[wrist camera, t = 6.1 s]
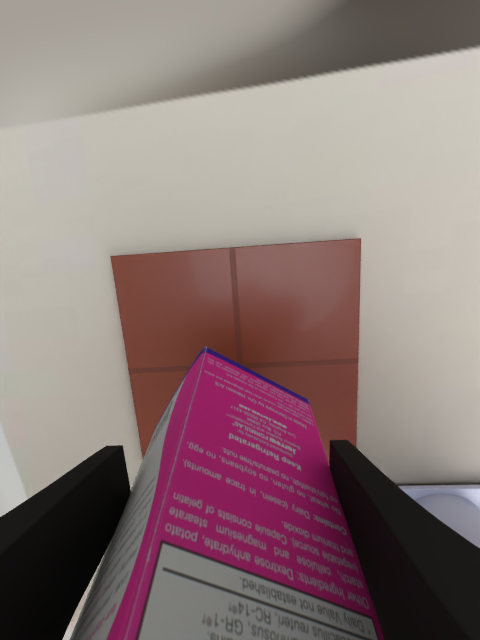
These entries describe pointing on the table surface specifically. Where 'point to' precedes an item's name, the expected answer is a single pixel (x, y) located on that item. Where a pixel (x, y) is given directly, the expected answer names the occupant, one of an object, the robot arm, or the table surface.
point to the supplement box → (231, 525)
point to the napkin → (246, 323)
